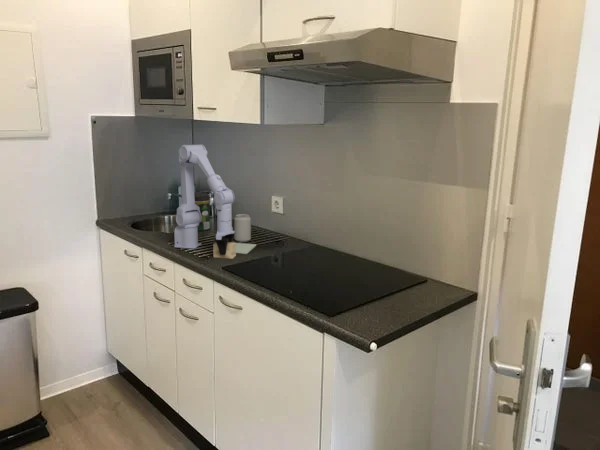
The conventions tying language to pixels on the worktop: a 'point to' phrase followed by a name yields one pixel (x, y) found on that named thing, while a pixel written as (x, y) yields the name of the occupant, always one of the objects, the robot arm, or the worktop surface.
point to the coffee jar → (203, 210)
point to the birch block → (229, 250)
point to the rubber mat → (244, 248)
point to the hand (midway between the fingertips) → (224, 253)
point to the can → (242, 228)
